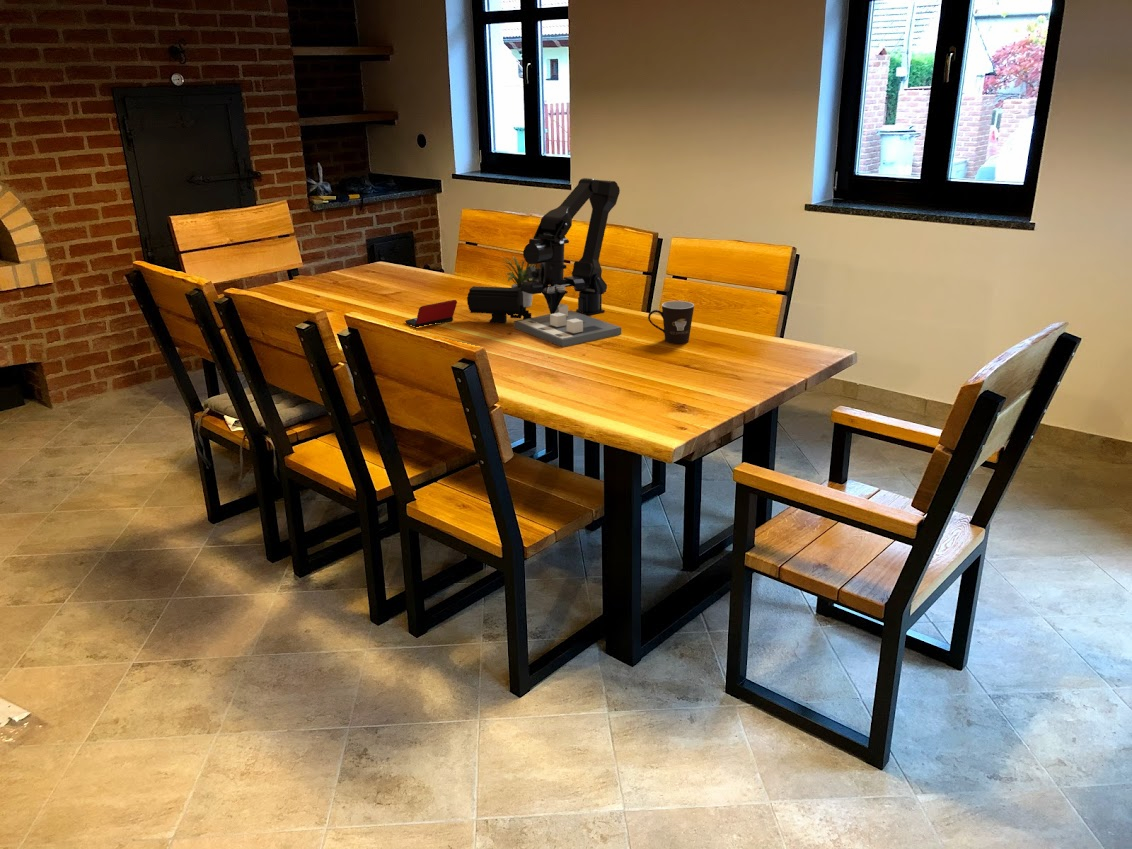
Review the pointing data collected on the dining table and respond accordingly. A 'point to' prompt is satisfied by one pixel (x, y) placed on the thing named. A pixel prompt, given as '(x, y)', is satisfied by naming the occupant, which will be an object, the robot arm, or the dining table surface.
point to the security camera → (497, 303)
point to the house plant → (520, 280)
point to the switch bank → (560, 335)
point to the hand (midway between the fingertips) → (552, 314)
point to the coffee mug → (676, 321)
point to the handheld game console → (434, 314)
